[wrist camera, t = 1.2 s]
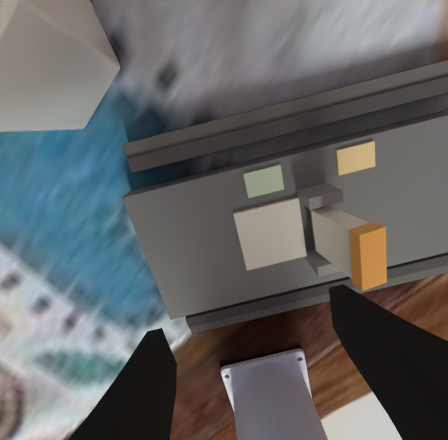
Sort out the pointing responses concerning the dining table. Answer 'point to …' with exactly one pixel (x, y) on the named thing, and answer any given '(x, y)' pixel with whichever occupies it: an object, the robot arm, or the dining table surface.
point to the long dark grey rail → (288, 117)
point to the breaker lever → (351, 245)
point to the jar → (52, 64)
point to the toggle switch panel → (291, 214)
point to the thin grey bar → (310, 295)
